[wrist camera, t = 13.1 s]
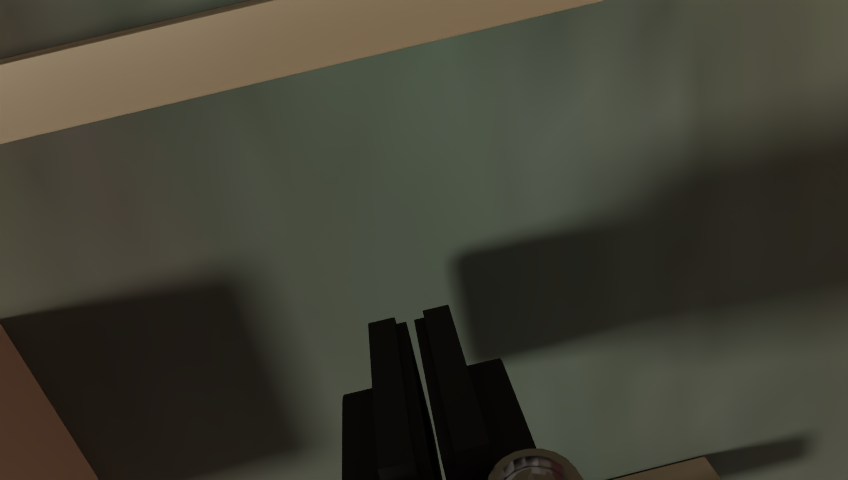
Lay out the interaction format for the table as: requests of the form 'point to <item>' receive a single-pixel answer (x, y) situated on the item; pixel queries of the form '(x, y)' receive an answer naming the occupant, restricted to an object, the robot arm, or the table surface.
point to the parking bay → (242, 68)
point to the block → (32, 427)
